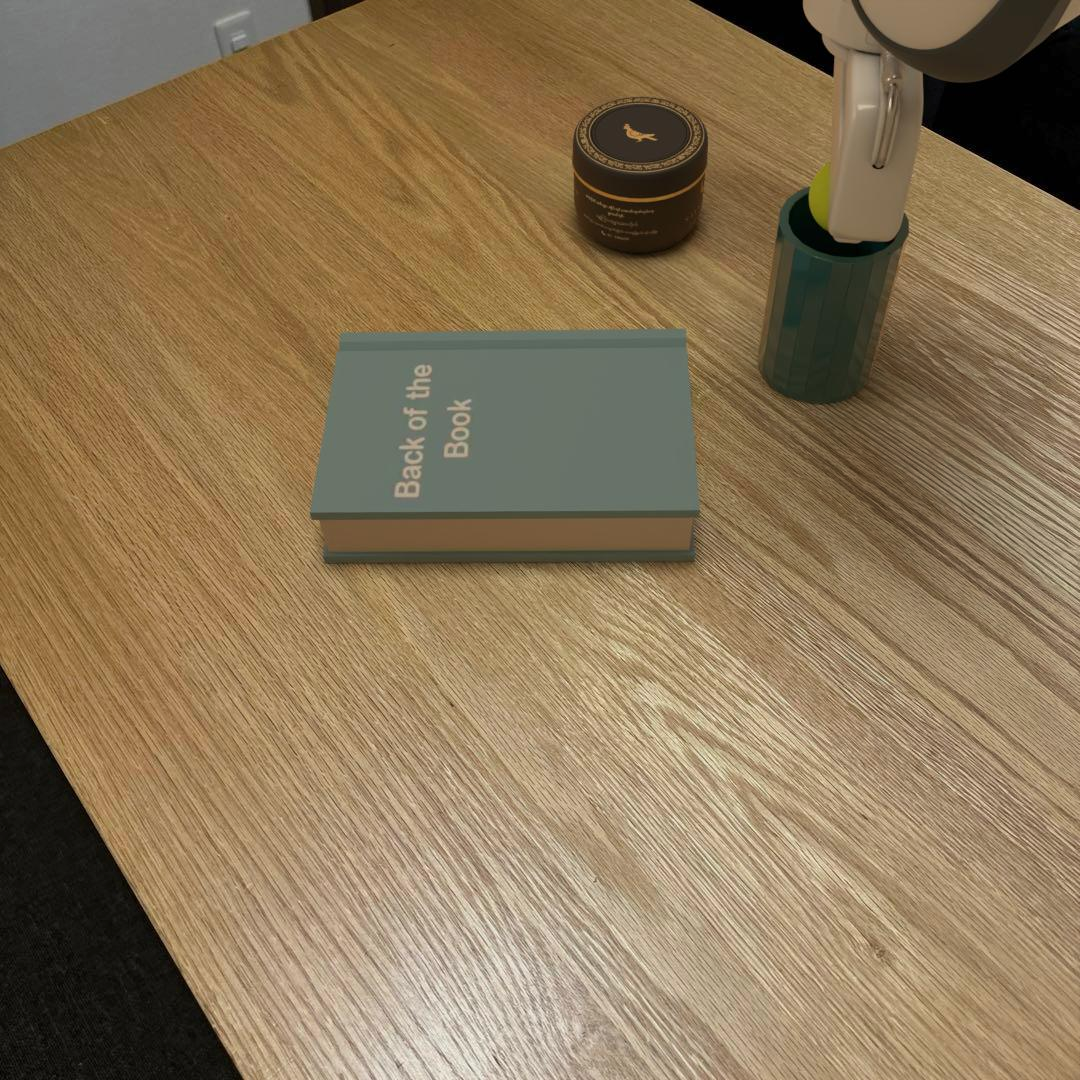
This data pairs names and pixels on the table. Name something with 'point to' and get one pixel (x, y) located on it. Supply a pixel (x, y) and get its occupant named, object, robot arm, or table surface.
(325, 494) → the book
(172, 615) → the table surface
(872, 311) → the tube
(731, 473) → the table surface
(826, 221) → the ball
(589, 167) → the jar
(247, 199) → the table surface
